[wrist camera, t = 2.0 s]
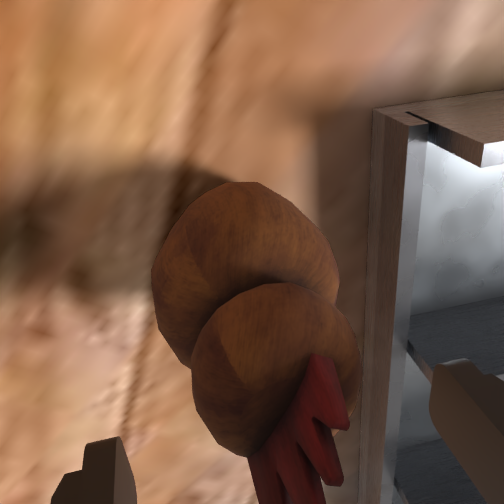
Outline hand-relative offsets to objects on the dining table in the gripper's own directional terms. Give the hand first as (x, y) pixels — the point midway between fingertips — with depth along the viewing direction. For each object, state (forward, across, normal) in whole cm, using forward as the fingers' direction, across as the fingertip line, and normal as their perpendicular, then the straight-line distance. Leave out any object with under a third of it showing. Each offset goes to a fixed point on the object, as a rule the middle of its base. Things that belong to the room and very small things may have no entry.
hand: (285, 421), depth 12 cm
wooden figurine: (+12, 0, 0) cm, 12 cm away
